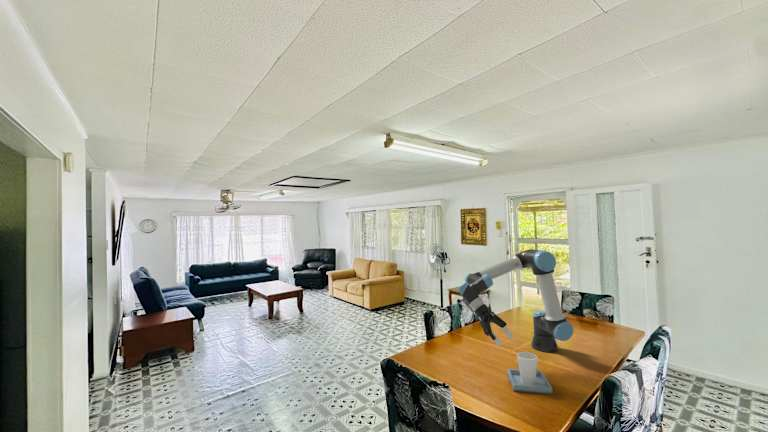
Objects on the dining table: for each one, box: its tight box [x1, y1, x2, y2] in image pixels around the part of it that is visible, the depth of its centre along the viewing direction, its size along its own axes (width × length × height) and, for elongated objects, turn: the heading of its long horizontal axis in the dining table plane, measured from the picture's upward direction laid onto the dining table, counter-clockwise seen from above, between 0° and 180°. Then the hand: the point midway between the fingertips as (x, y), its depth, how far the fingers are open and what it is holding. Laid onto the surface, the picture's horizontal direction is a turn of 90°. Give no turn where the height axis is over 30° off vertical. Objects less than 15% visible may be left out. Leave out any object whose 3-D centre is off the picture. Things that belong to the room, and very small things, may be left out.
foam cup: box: [516, 351, 539, 385], centre depth 155 cm, size 10×9×13 cm
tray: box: [506, 368, 554, 395], centre depth 155 cm, size 17×17×3 cm
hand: (506, 341), depth 163 cm, fingers open, 13 cm apart
